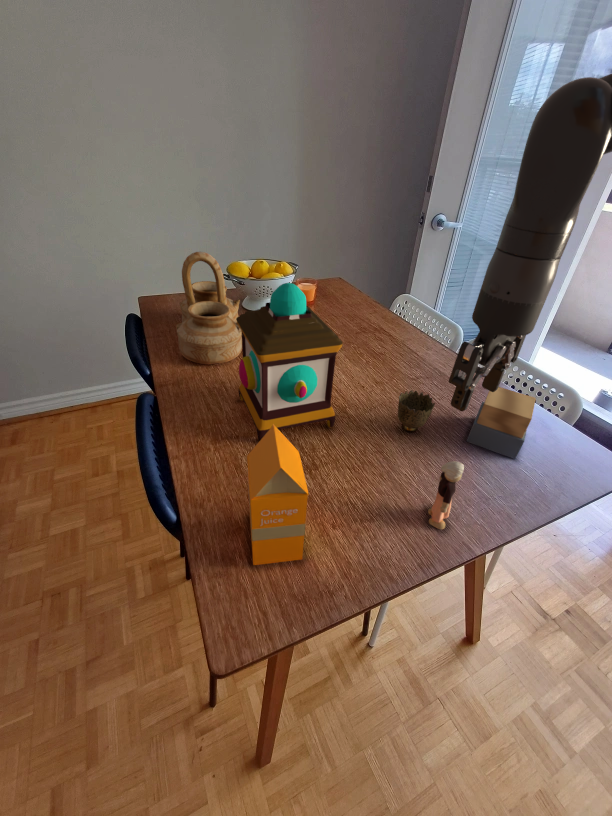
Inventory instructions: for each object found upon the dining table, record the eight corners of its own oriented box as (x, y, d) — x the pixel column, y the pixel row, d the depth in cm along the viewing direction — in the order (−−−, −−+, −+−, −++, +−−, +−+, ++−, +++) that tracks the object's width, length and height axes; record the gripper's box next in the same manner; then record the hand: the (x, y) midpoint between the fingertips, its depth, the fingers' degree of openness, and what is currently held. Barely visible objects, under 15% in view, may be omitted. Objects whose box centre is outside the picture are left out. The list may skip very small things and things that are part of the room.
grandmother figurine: (453, 535, 66) (476, 481, 59) (430, 533, 66) (451, 480, 59) (442, 499, 72) (462, 447, 65) (421, 498, 72) (438, 445, 65)
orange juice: (252, 565, 60) (248, 470, 48) (249, 518, 67) (245, 424, 55) (303, 559, 61) (312, 465, 49) (295, 513, 68) (301, 421, 56)
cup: (429, 440, 86) (438, 410, 81) (395, 438, 86) (403, 408, 81) (421, 419, 92) (430, 390, 87) (390, 417, 92) (396, 388, 87)
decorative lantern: (254, 450, 80) (250, 308, 63) (231, 397, 95) (223, 270, 77) (343, 430, 87) (362, 297, 69) (309, 384, 102) (317, 264, 84)
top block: (526, 416, 87) (536, 397, 84) (522, 438, 80) (531, 419, 77) (484, 403, 90) (491, 384, 87) (476, 423, 84) (484, 403, 81)
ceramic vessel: (249, 365, 107) (247, 272, 93) (178, 370, 103) (164, 273, 89) (238, 315, 134) (234, 237, 119) (181, 317, 130) (170, 236, 115)
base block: (521, 434, 90) (529, 416, 87) (515, 459, 83) (524, 441, 80) (475, 418, 94) (482, 401, 91) (466, 441, 86) (473, 423, 83)
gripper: (515, 312, 43) (470, 429, 52) (568, 288, 51) (521, 394, 60) (455, 291, 47) (424, 402, 57) (512, 272, 55) (476, 373, 65)
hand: (474, 398), depth 58 cm, fingers open, 8 cm apart
